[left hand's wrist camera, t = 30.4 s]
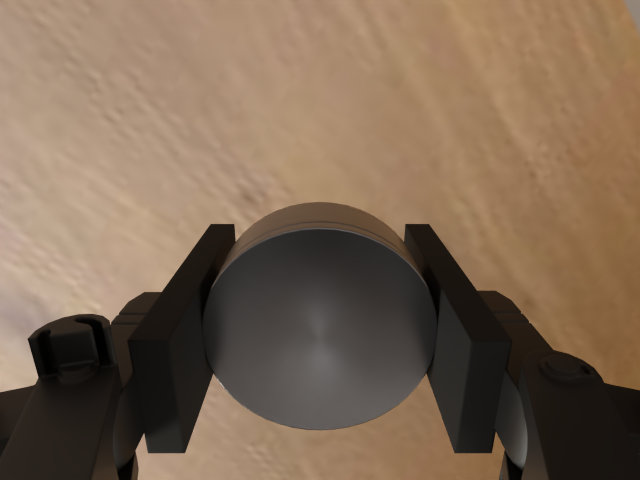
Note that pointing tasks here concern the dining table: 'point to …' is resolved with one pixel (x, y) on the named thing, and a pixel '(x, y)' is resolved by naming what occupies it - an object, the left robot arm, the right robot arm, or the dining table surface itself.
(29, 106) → the dining table surface
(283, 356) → the lid
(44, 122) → the dining table surface
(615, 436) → the left robot arm
